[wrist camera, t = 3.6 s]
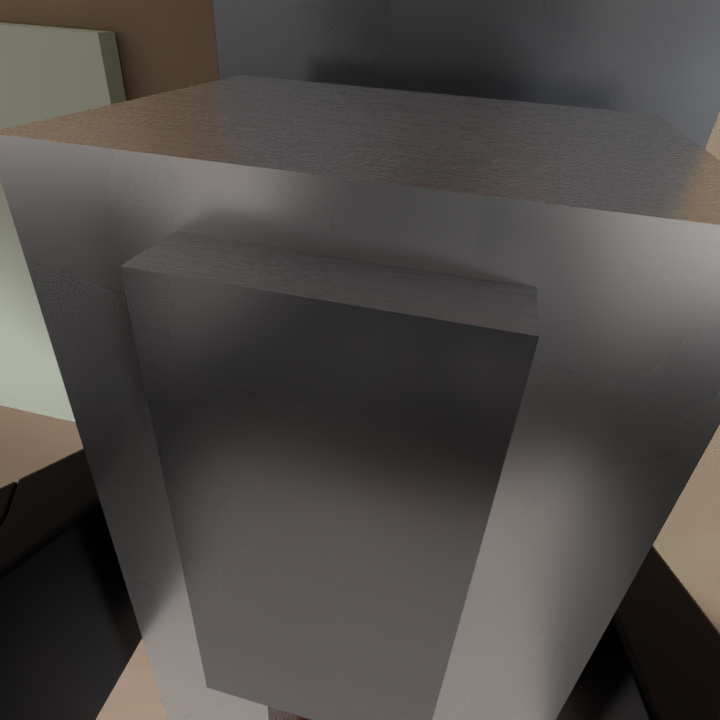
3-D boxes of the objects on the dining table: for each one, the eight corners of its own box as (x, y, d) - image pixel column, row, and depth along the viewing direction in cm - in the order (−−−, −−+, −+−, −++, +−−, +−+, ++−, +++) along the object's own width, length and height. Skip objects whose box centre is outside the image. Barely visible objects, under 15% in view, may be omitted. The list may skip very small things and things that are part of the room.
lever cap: (489, 620, 12) (474, 915, 8) (269, 563, 12) (161, 802, 9) (658, 114, 6) (887, 288, 2) (240, 74, 7) (-98, 151, 3)
